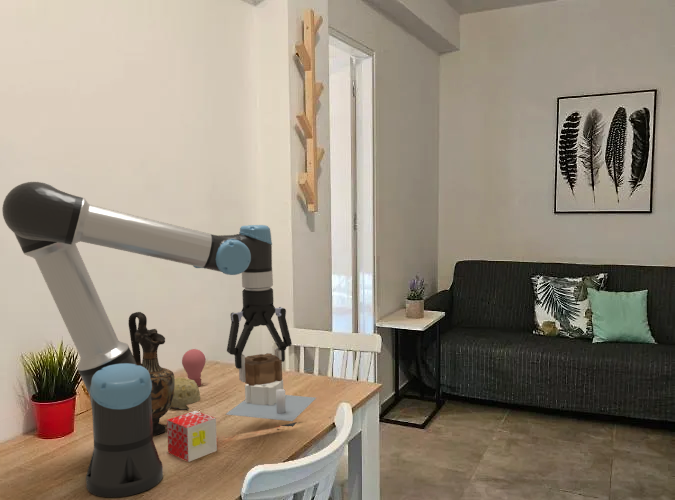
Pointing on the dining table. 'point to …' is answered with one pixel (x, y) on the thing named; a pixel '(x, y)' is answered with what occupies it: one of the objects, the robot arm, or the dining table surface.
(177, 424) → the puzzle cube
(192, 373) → the light bulb
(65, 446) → the dining table surface
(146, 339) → the vase
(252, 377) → the walnut gear
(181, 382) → the decorative item
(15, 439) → the dining table surface
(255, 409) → the gear board
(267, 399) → the gear
